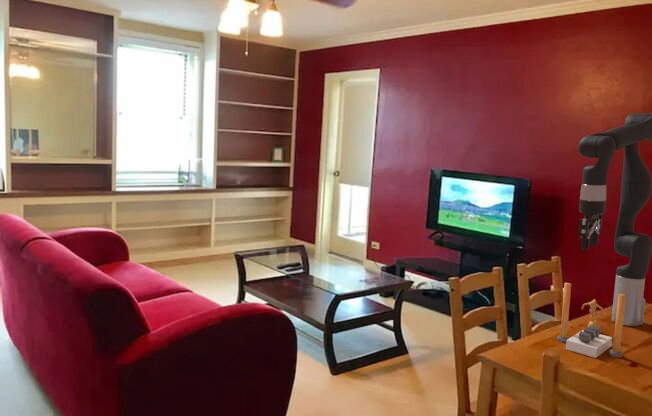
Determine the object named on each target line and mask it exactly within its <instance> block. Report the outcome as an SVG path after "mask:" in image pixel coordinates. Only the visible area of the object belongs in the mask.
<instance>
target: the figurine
mask: <svg viewBox="0 0 652 416" xmlns="http://www.w3.org/2000/svg"><path fill="white" fill-rule="evenodd" d="M585 306H589V307H590V308H589V313H590V317H589V318H590V321H589V322H588V324H587V329H588V328H589V326H590V325H591V326H595V327H599V328H600V329H601V327H602V325H601V323H600V322H598V320H597V319H598V317H599V312H598V310H596V309H597V308H599V309H601V311H602V312H603V313H604V314H605V316H606V317H607V315H608V314H607V313H606V311H605V310H604V308H603V307H602V306H600V305H599V304H598V303H597V300H596V298H594V299H593V300H591V301H589V302H585V303H583V304H582V306H581V310H584V307H585ZM593 315H595V317H594V319H593Z"/></svg>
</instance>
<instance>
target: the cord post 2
mask: <svg viewBox="0 0 652 416" xmlns="http://www.w3.org/2000/svg"><path fill="white" fill-rule="evenodd" d="M625 300H626V295H623V294H618V304H617V313H616V322H614V323H615V325H614V333H613V340H612V343H613V344H612V349H609V353H608V355H609V356H610V357H612V358H615V359H620V358H623V356H624V355H623V354H624V353H623V351H622V350H621V345H622V337H623V335H622V334H623V327H624V325H623V318H624V309H625Z"/></svg>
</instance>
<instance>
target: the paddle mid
mask: <svg viewBox="0 0 652 416" xmlns="http://www.w3.org/2000/svg"><path fill="white" fill-rule="evenodd" d="M583 330H584V332H586V333H590V334H591V339H593V340H594V339H595V337H596V331H595V330H591V329H588V327H587V328H586V327H585V329H583Z"/></svg>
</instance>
